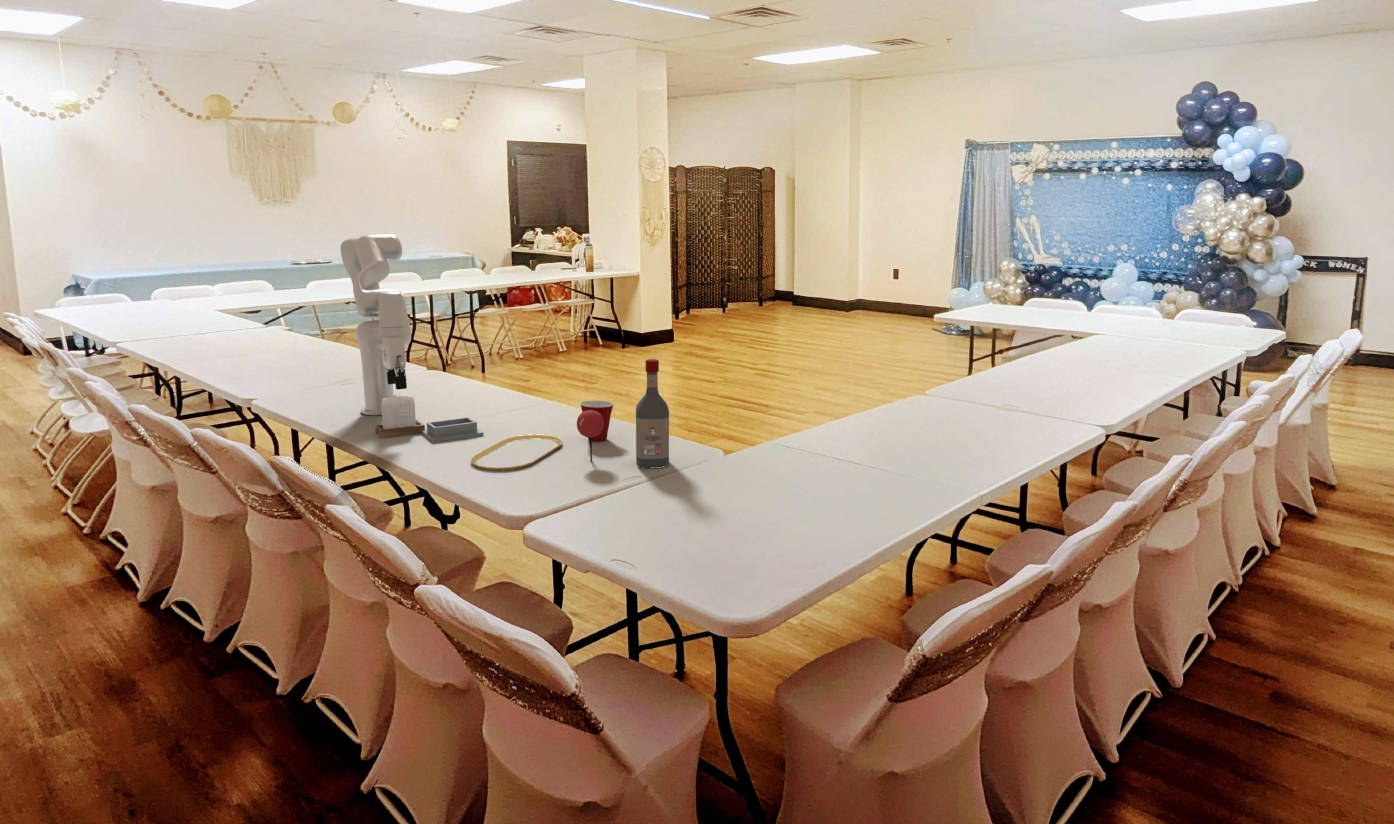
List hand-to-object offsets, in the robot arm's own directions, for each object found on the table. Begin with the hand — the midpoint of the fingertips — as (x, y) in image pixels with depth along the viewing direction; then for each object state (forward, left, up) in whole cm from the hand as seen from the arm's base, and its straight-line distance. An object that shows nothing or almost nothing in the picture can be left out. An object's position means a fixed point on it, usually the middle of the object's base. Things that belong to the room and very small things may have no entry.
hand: (397, 386), depth 283 cm
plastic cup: (+38, +51, -15) cm, 65 cm away
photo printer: (-1, 0, -16) cm, 15 cm away
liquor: (+69, +53, -15) cm, 88 cm away
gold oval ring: (+40, +24, -16) cm, 49 cm away
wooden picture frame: (-1, 0, -15) cm, 15 cm away
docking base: (+10, +14, -15) cm, 23 cm away
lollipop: (+58, +39, -15) cm, 71 cm away
